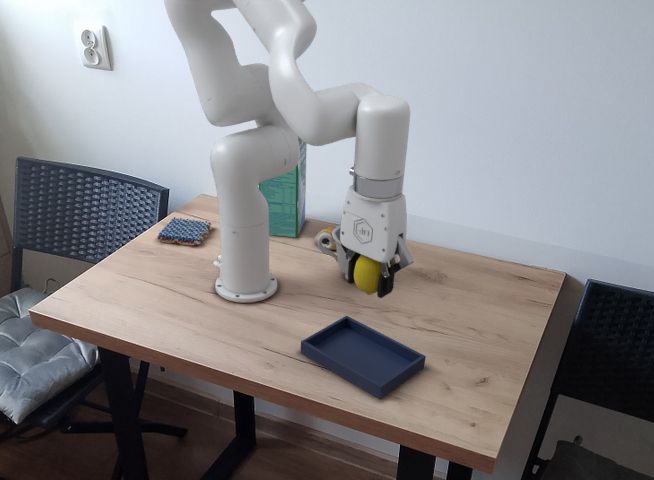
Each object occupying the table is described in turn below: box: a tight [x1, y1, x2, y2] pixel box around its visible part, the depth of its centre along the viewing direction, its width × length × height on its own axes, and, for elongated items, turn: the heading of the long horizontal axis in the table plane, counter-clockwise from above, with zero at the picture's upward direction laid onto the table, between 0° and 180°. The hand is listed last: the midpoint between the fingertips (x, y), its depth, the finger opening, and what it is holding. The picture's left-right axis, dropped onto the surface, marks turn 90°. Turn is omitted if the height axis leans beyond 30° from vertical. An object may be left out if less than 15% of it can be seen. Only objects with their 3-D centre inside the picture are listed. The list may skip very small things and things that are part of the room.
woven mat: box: [156, 216, 213, 246], centre depth 162 cm, size 10×11×2 cm
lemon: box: [354, 255, 382, 296], centre depth 114 cm, size 6×6×8 cm
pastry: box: [314, 226, 337, 251], centre depth 160 cm, size 9×7×4 cm
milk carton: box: [258, 136, 308, 239], centre depth 160 cm, size 9×9×25 cm
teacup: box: [316, 224, 349, 281], centre depth 145 cm, size 12×15×10 cm
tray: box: [300, 315, 427, 400], centre depth 123 cm, size 18×12×3 cm
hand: (369, 286), depth 116 cm, fingers closed on lemon, 5 cm apart
